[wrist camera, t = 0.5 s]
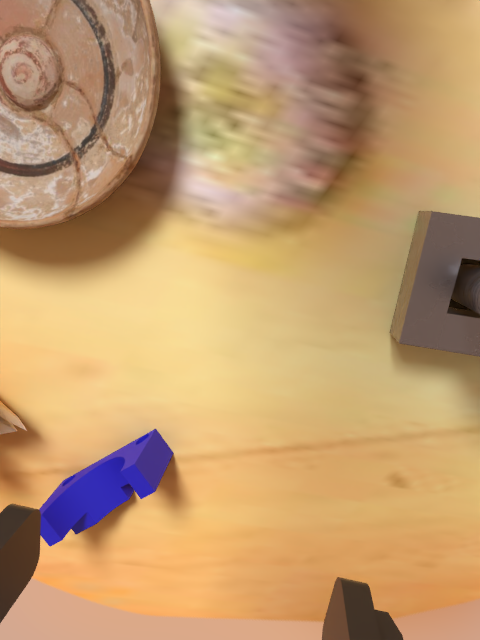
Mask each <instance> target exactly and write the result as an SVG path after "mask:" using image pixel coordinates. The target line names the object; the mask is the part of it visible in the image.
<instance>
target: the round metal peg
mask: <svg viewBox="0 0 480 640" xmlns="http://www.w3.org/2000/svg"><path fill="white" fill-rule="evenodd" d="M451 298H452V299H453V300H454V301H456V302H458V303H460V304H462V305H464V306H466V307H467V308H469V309H471V310H473V311H475V312H477V313H479V314H480V266H478V265H475V264H464V265H460V267H459V271H458V275H457V278H456V282H455V286H454V289H453V293H452V296H451Z"/></svg>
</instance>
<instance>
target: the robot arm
mask: <svg viewBox="0 0 480 640" xmlns="http://www.w3.org/2000/svg"><path fill="white" fill-rule="evenodd" d="M40 529H41V512H40V510H38V509H34V508H29V507H25V506H20V505H16V504H10V505H8V506H7V507H6V508H5V509H4V510H3V511H2V512H1V513H0V623H1V621H2V620H3V619H4V617H5V616H6V614H7V613H8V611H9V610H10V608H11V607H12V605H13V604H14V603H15V601H16V599H17V598H18V597H19V595H20V594H21V593H22V591H23V590H24V588H25V587H26V585H27V584H28V582H29V581H30V579H31V577H32V576H33V574H34V571H35V569H36V566H37V563H38V560H39V554H40ZM322 640H403V637H402V634H401V633H400V631H399V630H398V628H397V626H396V625H395V623H394V621H393V620H392V618H391V617H390V615H389V613H387V612H383V611H378V610H374V606H373V601H372V597H371V592H370V588H369V586H368V584H367V583H362V582H358V581H353V580H349V579H344V578H340V577H338V578H337V579H336V581H335V585H334V588H333V592H332V595H331V599H330V603H329V606H328V610H327V613H326V617H325V620H324V626H323V634H322Z"/></svg>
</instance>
